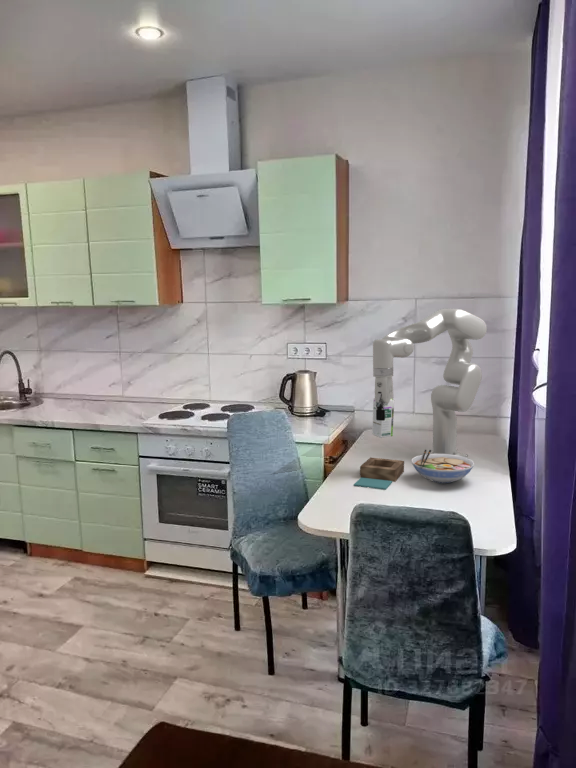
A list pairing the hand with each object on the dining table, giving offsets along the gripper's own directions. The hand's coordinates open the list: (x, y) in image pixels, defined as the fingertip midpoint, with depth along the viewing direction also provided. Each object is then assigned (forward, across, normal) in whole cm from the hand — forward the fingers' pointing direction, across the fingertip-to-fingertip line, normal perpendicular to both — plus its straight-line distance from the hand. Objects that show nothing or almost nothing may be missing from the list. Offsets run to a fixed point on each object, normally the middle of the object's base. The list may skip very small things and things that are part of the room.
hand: (383, 417), depth 228 cm
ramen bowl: (+23, 0, -22) cm, 32 cm away
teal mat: (+22, -13, 0) cm, 26 cm away
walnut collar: (+22, -1, 0) cm, 22 cm away
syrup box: (+7, 0, +1) cm, 7 cm away
